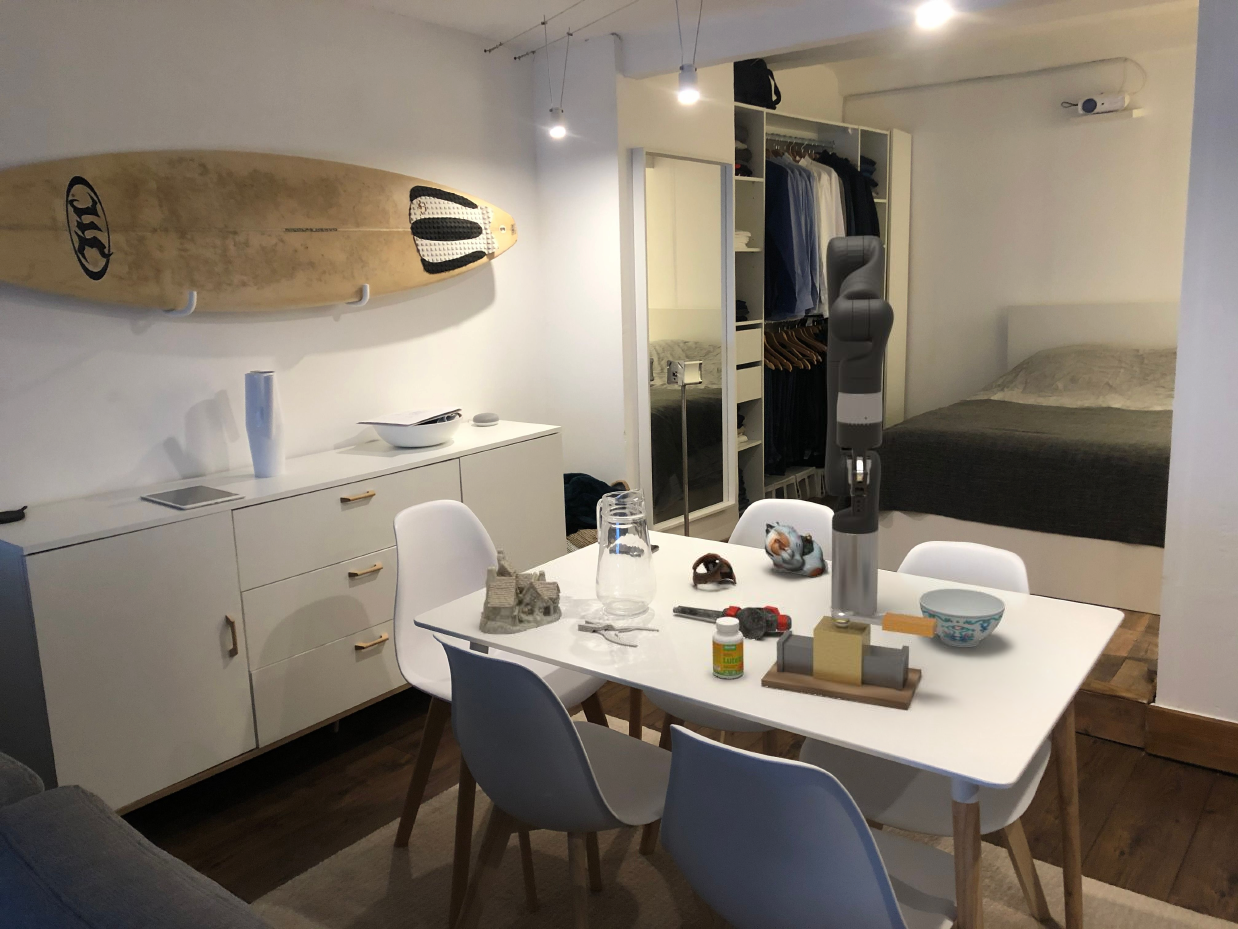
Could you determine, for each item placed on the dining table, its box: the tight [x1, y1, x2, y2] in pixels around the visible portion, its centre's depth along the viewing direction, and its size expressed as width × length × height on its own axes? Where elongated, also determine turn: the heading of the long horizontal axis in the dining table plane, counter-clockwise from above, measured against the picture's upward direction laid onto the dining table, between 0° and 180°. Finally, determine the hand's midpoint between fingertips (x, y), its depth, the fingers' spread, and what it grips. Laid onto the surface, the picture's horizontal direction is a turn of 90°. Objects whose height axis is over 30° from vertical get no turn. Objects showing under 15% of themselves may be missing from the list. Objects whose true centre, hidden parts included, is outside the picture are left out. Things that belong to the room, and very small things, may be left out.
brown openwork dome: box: [691, 552, 737, 587], centre depth 215 cm, size 12×10×8 cm
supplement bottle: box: [711, 617, 745, 680], centre depth 165 cm, size 5×5×10 cm
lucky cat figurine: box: [764, 520, 829, 578], centre depth 220 cm, size 15×12×14 cm
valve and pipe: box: [776, 615, 910, 691], centre depth 160 cm, size 7×21×10 cm, turn 64°
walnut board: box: [760, 660, 923, 711], centre depth 161 cm, size 14×24×1 cm, turn 64°
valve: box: [672, 605, 793, 641], centre depth 190 cm, size 6×26×15 cm
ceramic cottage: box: [479, 548, 563, 635], centre depth 194 cm, size 16×16×15 cm
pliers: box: [577, 619, 660, 648], centre depth 187 cm, size 10×2×15 cm
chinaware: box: [918, 588, 1006, 648], centre depth 176 cm, size 15×15×8 cm
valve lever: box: [830, 608, 937, 638], centre depth 155 cm, size 17×4×2 cm, turn 61°
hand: (858, 516), depth 164 cm, fingers closed
